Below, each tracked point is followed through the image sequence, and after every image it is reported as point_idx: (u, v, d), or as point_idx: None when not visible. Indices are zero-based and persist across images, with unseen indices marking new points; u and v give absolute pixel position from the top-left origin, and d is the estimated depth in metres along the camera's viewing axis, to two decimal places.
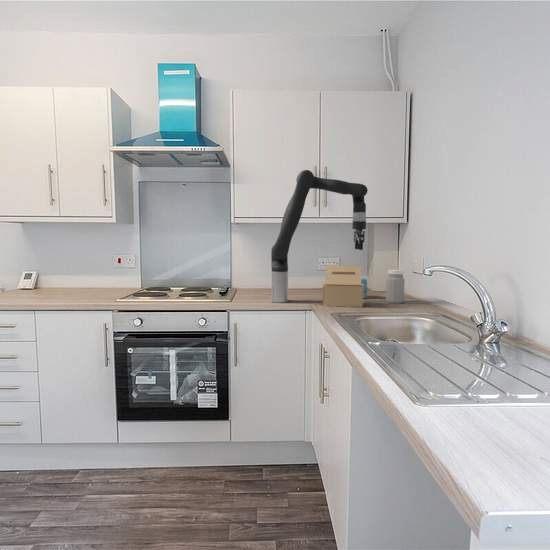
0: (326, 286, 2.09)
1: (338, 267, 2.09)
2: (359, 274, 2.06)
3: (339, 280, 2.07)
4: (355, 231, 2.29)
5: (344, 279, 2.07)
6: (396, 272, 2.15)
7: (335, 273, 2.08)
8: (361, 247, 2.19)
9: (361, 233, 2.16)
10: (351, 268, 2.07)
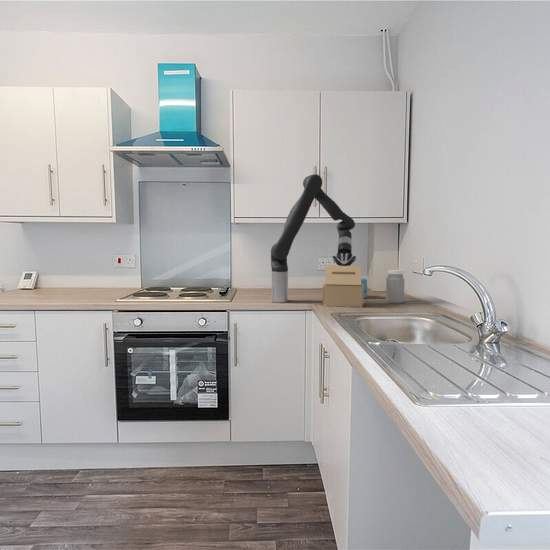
0: (326, 286, 2.09)
1: (338, 267, 2.09)
2: (359, 274, 2.06)
3: (339, 280, 2.07)
4: None
5: (344, 279, 2.07)
6: (396, 272, 2.15)
7: (335, 273, 2.08)
8: None
9: (354, 259, 2.12)
10: (351, 267, 2.07)
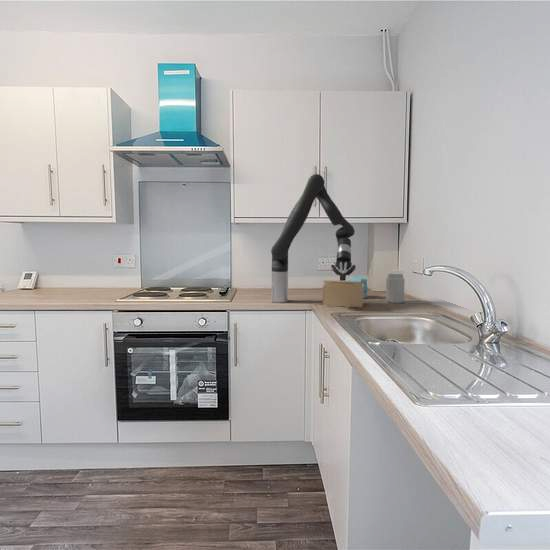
0: (326, 286, 2.09)
1: (336, 281, 1.98)
2: (359, 283, 1.99)
3: (339, 284, 2.04)
4: None
5: (344, 284, 2.03)
6: (396, 272, 2.15)
7: (333, 283, 2.02)
8: None
9: (354, 268, 2.01)
10: (350, 281, 1.96)
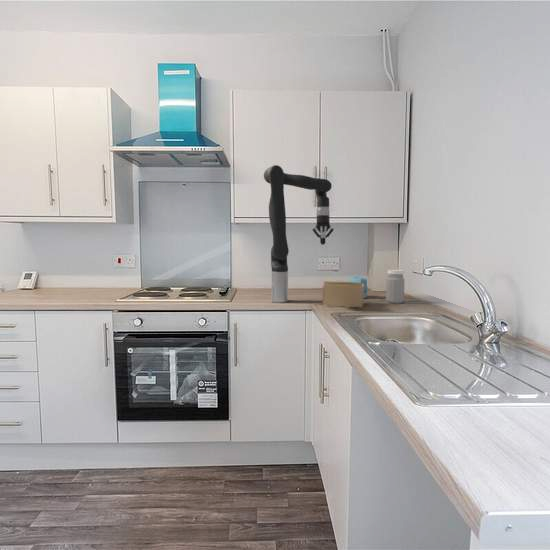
0: (326, 286, 2.09)
1: (336, 282, 1.98)
2: (359, 284, 1.99)
3: (339, 284, 2.04)
4: None
5: (344, 284, 2.03)
6: (396, 272, 2.15)
7: (333, 283, 2.01)
8: (324, 242, 2.33)
9: None
10: (350, 282, 1.96)
